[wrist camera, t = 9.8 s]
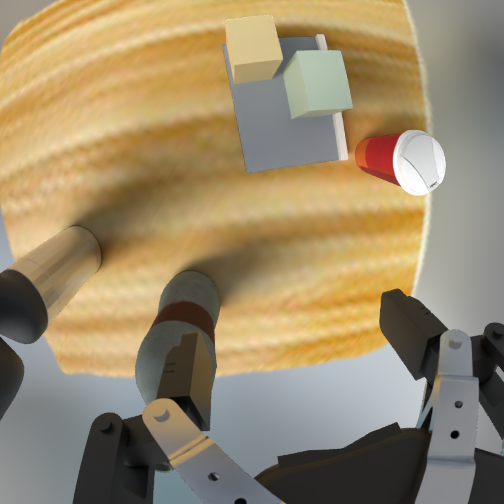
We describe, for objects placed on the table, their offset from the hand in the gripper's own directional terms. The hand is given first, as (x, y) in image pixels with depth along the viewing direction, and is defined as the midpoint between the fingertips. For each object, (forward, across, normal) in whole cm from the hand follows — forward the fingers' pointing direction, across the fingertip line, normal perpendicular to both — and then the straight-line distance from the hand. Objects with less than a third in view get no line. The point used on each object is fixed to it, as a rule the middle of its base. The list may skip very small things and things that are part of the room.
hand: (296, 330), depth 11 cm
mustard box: (+28, -3, -20) cm, 34 cm away
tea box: (+28, -10, -14) cm, 33 cm away
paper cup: (+30, -19, -4) cm, 36 cm away
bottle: (+30, +12, +13) cm, 35 cm away
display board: (+30, -7, -14) cm, 33 cm away
